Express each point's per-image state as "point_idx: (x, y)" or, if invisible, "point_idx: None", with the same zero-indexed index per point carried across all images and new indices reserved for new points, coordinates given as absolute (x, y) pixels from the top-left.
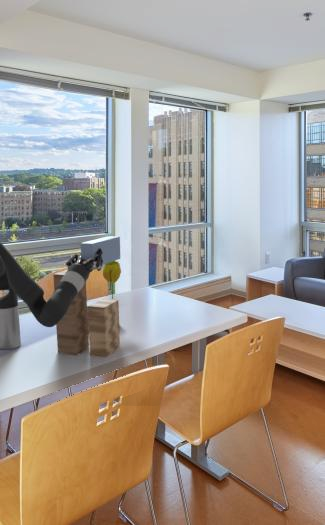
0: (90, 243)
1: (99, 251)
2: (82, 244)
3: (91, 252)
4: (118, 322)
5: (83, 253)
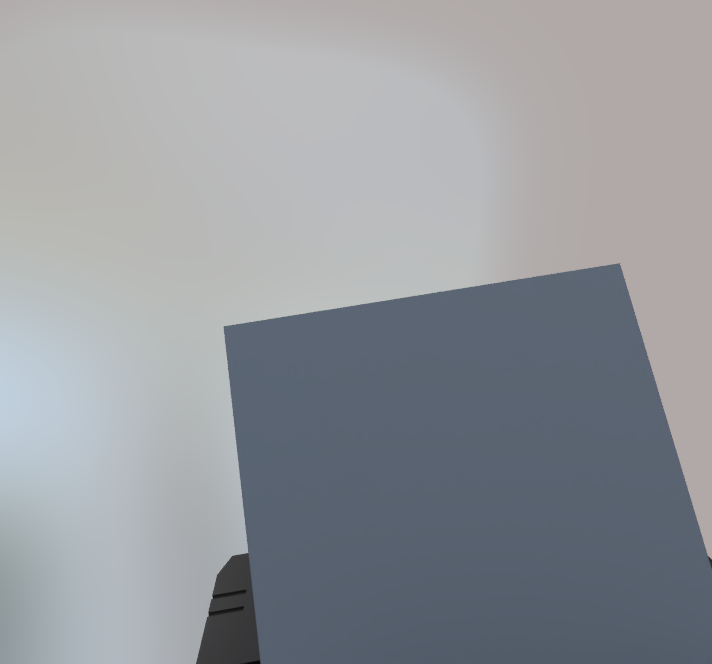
0: (547, 276)
1: None
2: (292, 353)
3: (648, 543)
4: None
5: (357, 647)
